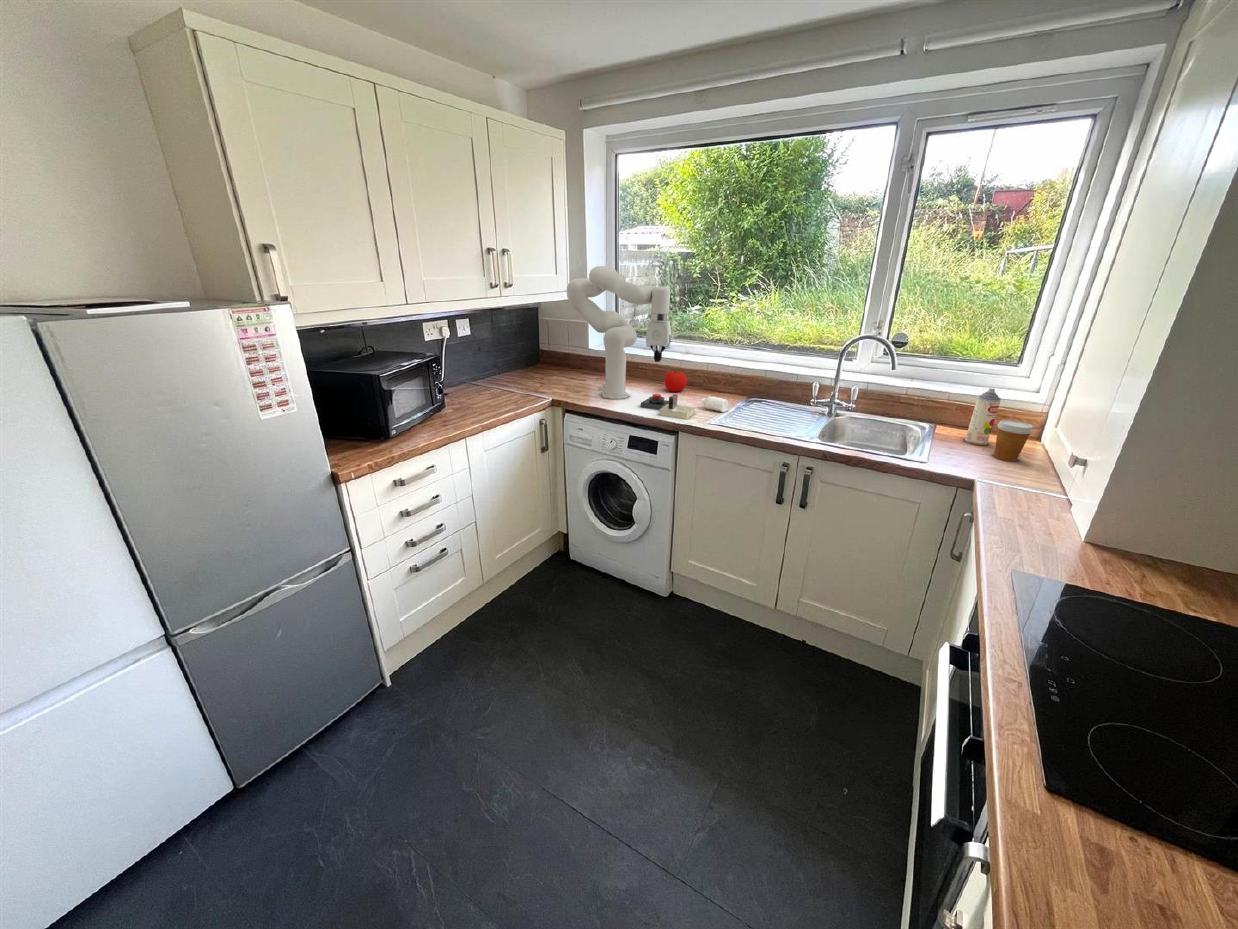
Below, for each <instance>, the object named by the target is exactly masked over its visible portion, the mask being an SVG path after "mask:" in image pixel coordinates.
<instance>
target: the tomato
mask: <svg viewBox="0 0 1238 929" xmlns="http://www.w3.org/2000/svg"><path fill="white" fill-rule="evenodd" d="M687 385H688V378H687V375H686V374H685V372H683V371H682V370H675V369H672V370H671V371H670V370H669V371H667V373H666V374H665V376H664V386H665V389H666V390H667V391H668V392H673V393H676V392H677V393H678V392H682V391H683V390H684V389H685V388H686V387H687Z"/></svg>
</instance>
